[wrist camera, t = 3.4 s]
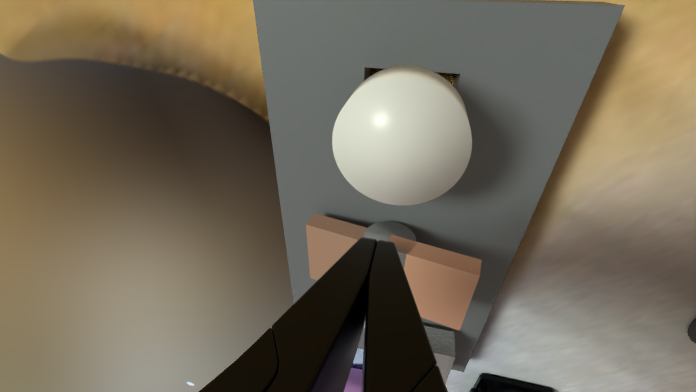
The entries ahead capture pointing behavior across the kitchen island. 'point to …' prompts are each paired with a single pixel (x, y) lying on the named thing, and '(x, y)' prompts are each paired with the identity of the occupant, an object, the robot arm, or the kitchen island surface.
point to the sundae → (692, 331)
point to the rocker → (417, 260)
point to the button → (403, 136)
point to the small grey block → (442, 348)
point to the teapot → (354, 381)
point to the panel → (479, 99)
